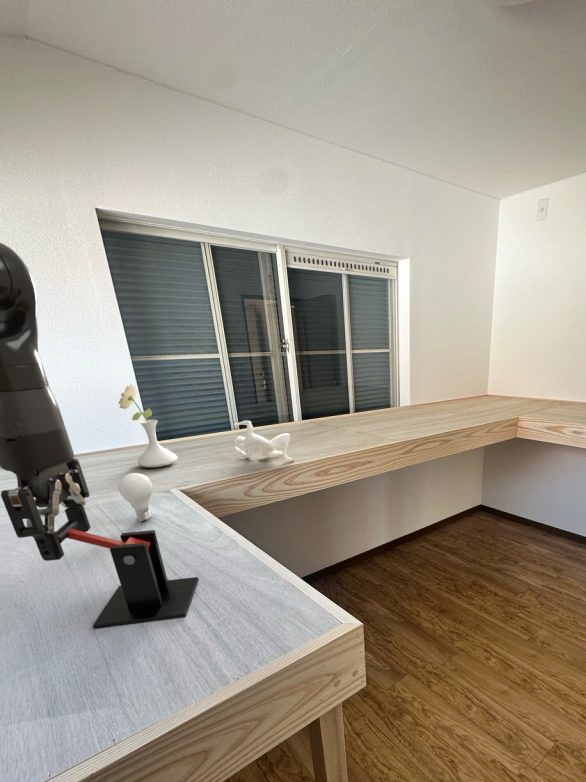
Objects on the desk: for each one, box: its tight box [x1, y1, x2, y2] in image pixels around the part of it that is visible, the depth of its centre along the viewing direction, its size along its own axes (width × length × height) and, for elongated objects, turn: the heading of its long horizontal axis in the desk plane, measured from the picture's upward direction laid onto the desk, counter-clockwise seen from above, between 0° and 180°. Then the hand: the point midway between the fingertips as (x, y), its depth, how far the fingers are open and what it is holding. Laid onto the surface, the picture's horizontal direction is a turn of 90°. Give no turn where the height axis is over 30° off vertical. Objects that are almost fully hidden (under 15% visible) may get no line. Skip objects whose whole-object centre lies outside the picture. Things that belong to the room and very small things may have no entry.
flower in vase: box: [118, 383, 178, 468], centre depth 126 cm, size 13×11×25 cm
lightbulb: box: [118, 472, 154, 522], centre depth 91 cm, size 6×6×11 cm
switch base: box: [92, 529, 199, 630], centre depth 61 cm, size 12×10×12 cm
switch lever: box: [56, 520, 151, 550], centre depth 58 cm, size 11×5×2 cm, turn 103°
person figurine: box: [233, 419, 292, 461], centre depth 134 cm, size 13×13×18 cm
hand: (69, 544), depth 57 cm, fingers open, 7 cm apart
